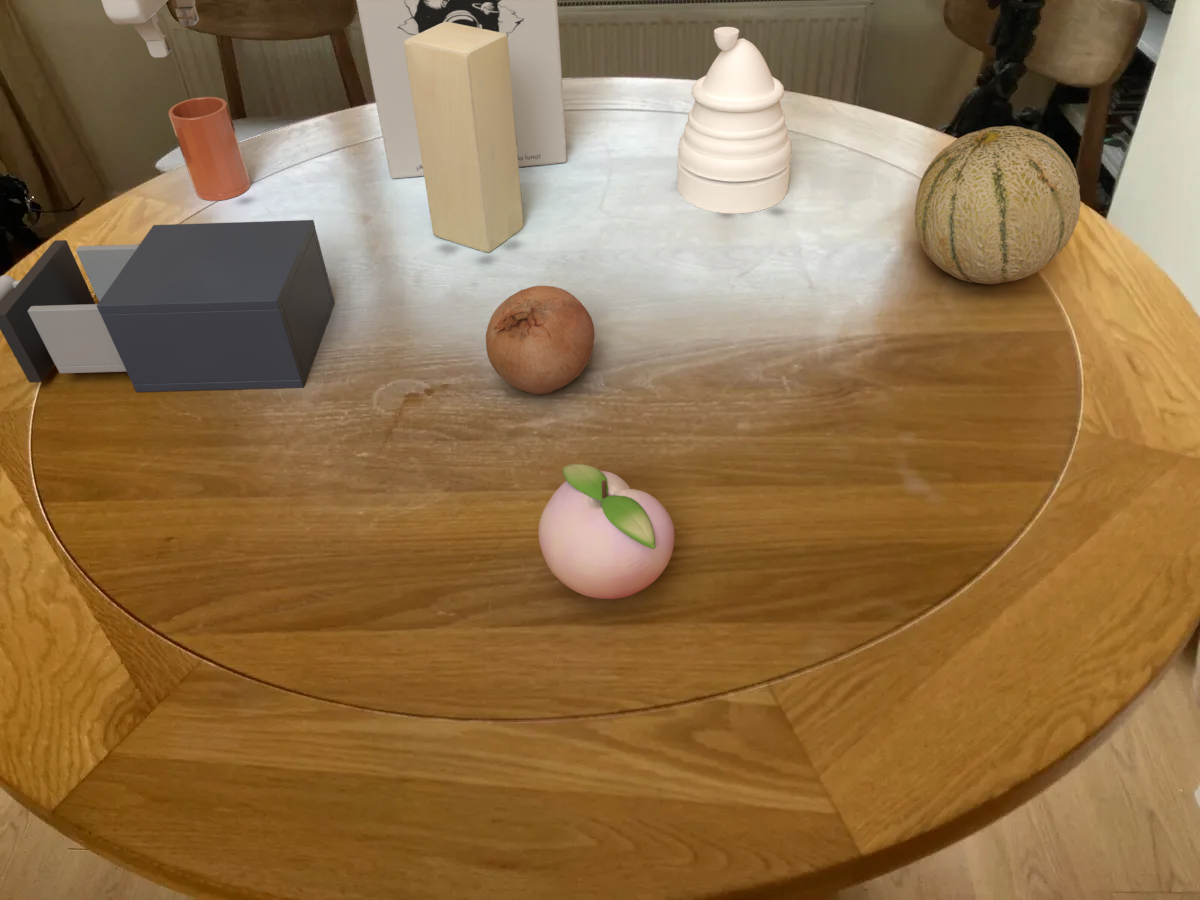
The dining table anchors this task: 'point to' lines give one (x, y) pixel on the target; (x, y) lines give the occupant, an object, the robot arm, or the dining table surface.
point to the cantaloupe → (997, 205)
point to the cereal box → (530, 20)
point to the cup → (210, 148)
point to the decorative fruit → (604, 534)
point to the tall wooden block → (466, 133)
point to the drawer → (62, 311)
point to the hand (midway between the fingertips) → (176, 39)
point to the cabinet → (220, 306)
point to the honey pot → (735, 134)
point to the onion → (540, 339)
